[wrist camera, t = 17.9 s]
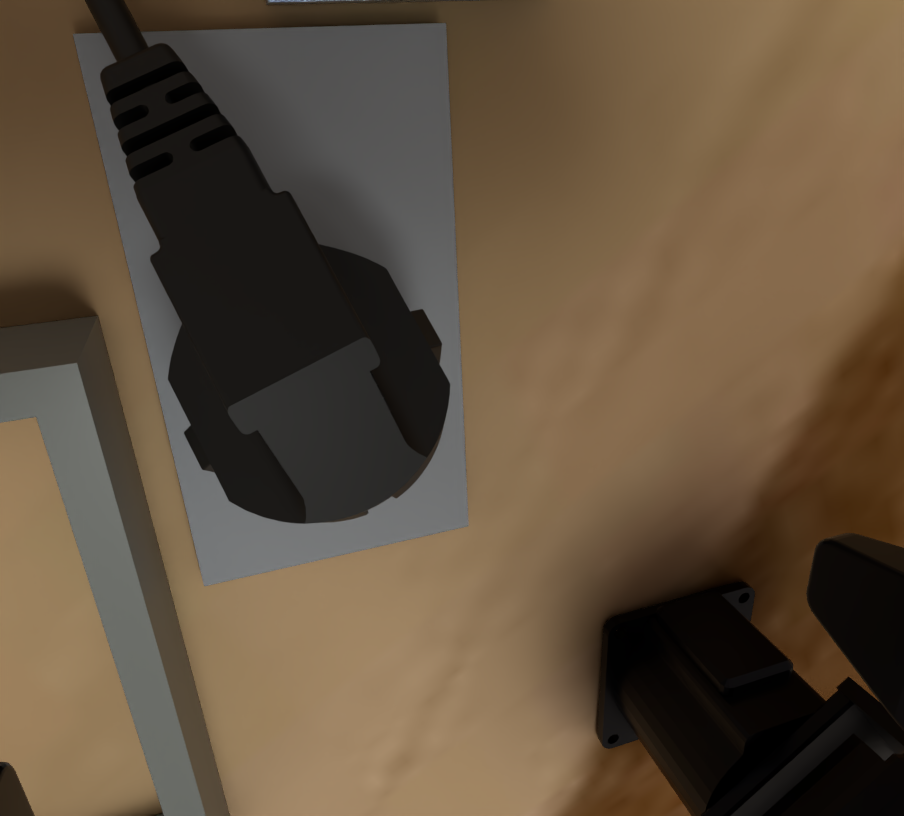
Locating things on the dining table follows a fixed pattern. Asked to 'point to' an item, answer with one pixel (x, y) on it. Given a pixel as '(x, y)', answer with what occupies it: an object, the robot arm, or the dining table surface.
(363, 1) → the blue gray open box
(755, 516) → the dining table surface
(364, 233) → the mat
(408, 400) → the power plug
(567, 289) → the dining table surface
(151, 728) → the case
